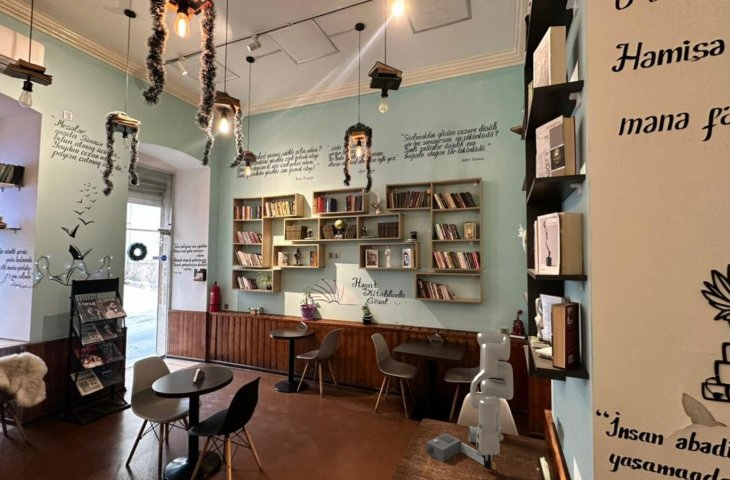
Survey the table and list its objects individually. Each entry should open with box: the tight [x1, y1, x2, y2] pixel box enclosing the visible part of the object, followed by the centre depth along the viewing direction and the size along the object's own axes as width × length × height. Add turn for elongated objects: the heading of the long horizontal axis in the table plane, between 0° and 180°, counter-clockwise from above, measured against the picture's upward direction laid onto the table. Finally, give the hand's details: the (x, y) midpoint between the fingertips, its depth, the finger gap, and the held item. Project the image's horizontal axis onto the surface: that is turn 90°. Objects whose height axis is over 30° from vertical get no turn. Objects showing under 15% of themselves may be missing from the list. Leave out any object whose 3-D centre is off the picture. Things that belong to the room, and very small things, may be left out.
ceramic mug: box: [467, 425, 479, 444], centre depth 184 cm, size 11×8×8 cm
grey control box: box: [426, 432, 462, 463], centre depth 170 cm, size 17×10×6 cm, turn 131°
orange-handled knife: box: [460, 441, 496, 471], centre depth 163 cm, size 20×1×4 cm, turn 32°
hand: (487, 468), depth 155 cm, fingers closed
